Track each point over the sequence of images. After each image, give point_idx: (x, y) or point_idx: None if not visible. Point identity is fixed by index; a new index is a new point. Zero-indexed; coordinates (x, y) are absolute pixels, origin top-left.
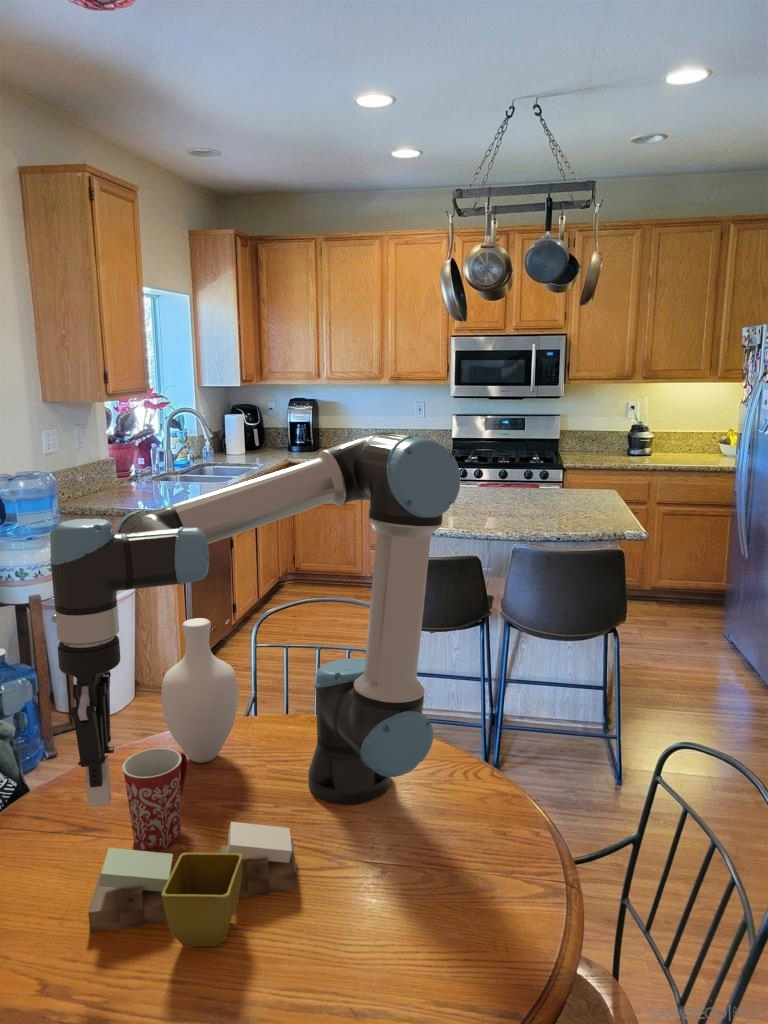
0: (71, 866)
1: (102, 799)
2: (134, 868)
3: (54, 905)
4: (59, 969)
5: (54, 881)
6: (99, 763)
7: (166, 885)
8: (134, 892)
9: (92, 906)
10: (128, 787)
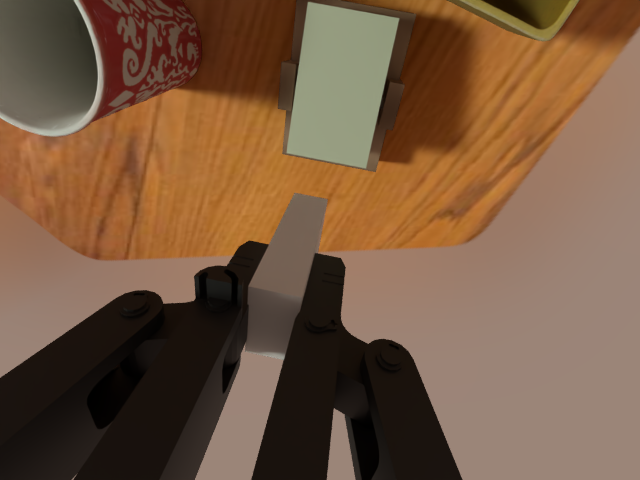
0: (219, 185)
1: (322, 224)
2: (355, 99)
3: None
4: (429, 197)
5: (248, 206)
6: (411, 364)
7: (520, 24)
8: (399, 99)
9: None
10: (109, 113)
